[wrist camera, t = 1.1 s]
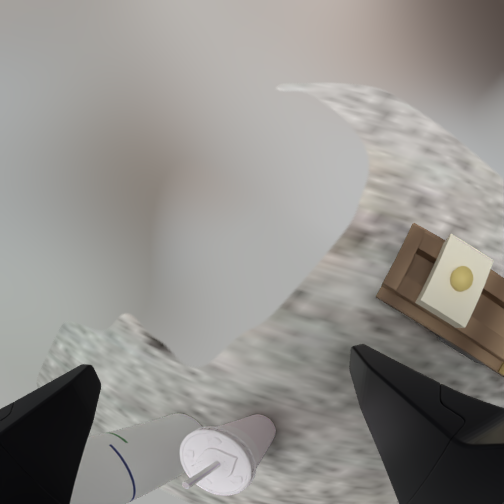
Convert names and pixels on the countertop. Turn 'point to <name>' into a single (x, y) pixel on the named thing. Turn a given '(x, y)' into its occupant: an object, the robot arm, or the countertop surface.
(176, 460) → the cylindrical container
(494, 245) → the countertop surface
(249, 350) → the countertop surface
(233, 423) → the smoothie
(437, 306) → the block
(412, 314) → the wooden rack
